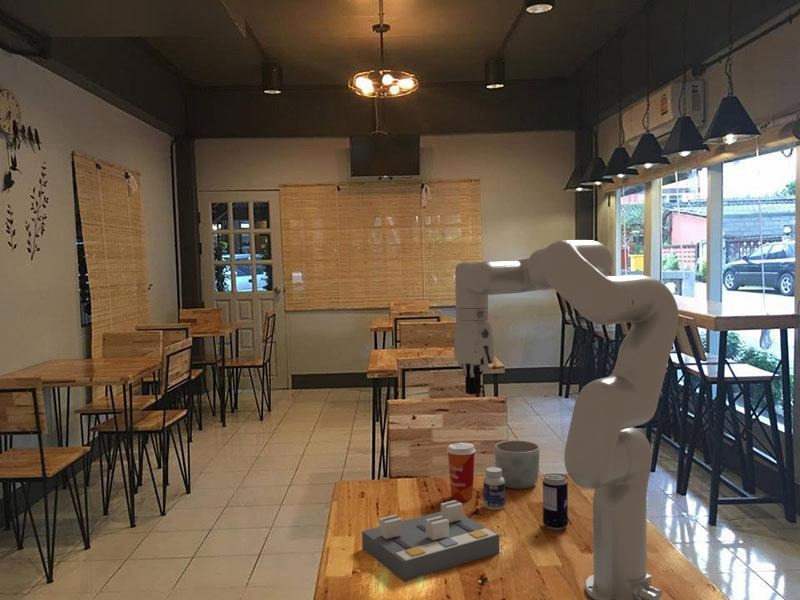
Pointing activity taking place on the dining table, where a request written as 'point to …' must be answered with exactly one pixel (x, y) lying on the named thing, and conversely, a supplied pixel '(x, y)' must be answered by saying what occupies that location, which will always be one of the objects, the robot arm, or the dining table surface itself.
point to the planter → (518, 463)
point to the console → (430, 547)
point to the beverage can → (555, 501)
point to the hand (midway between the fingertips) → (473, 393)
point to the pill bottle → (494, 489)
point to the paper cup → (461, 470)
